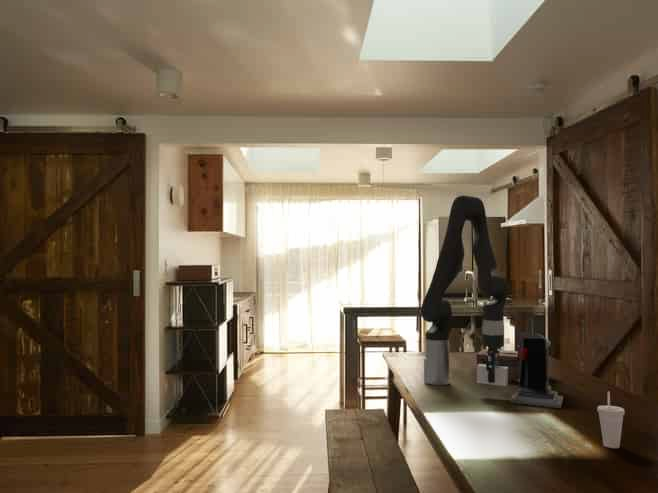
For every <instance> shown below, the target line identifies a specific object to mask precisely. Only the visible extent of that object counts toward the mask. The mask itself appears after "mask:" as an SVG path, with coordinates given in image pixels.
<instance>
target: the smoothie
mask: <svg viewBox="0 0 658 493" xmlns="http://www.w3.org/2000/svg"><path fill="white" fill-rule="evenodd" d="M606 393H607V404H606V405H603V404H602V405H598V406H597V412H598V416H599V421H600V430H601V436H602V443H603V444H602V445H603V447H606V448H610V449H619V448H620V445H621V444H620V443H621V439H622V438H621V437H622V428H623V421H624V415H625V414H626V413H625V409H624V408H623V407H620V406H616V405H615V406H614V405H611V394H610V393H611V392H610V391H607V392H606Z"/></svg>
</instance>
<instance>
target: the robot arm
mask: <svg viewBox="0 0 658 493" xmlns="http://www.w3.org/2000/svg"><path fill="white" fill-rule="evenodd" d="M447 221H448V222H447V226H446V231H445V235H444V239H443V242H442V246H441V249H440V252H439V254H438V259H437V262H436V266H435V269H434V272H433V275H432V278H431V282H430V284H429V287H428V289H427V292H426V294H425V296H424V299H423V301H422V304H421V309H420V312H421V318H422V319H423V320H424V321H425V322H427V323H431V326H430V327H429V329H427V330H426V332H425V333H424V334H425V342H424V343H425V345H424V346H425V357H424V358H423V383H424V384H429V385H433V386H445V385H446V386H447V385H448V384H450V334H451V332H452V321H453V320H452V319H453V318H452V317H453V312H452V311H453V309H452V306H451V303H450V301H449V300H448V299H447V298H444V297H445V296H444V295H445V293H446V291H447V290H448V288H449V287H450V286H451V284H452V283H453V282H454V280H455V279H457V276H458V274H459V273H460V271H461V269H462V266H463V263H464V259H465V247H464V243H463V230H464V226H465V223H466V221H468V222H470V224H471V226H472V228H473V232H474V233H473V235H474V237H473V242H472V255H473V258H474V261H475V262H474V263H475V265H476V268H477V288H478V289H479V292H480V294H482V295H483V296H485V297H491V300H490V301H489V302H486V303H485V304H483V306H482V308H483V309H482V324H481V345H482V346H483V347H487V349H488V352H487V351H486V357H485V358H486V370H487V371H488V382H489V383H494V382H495V366H499V365H498V364H499V353H500V352H499V350H500V349H499V348H504V347H505V321H504V316H505V314H504V312H505V311H504V310H505V306H506V303H507V299H508V295H509V292H510V286H509V281H508V280H507V278H505V277H504V276H501V275H497V276H496V275H494V276H493V275H492V272H493V271H494V270H496V269H497V267H498V262H497V259H496V256H495V254H494V250H493V248H492V243H491V239H490V234H489V227H488V221H487V216H486V208H485V204H484V202H483V200H482V199H481V198H479V197H477V196H470V195H464V194H460V195H457V197H455V198H454V200H453V202H452V203H451V206H450V212H449V215H448V220H447ZM490 366H492V368H490Z"/></svg>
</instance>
